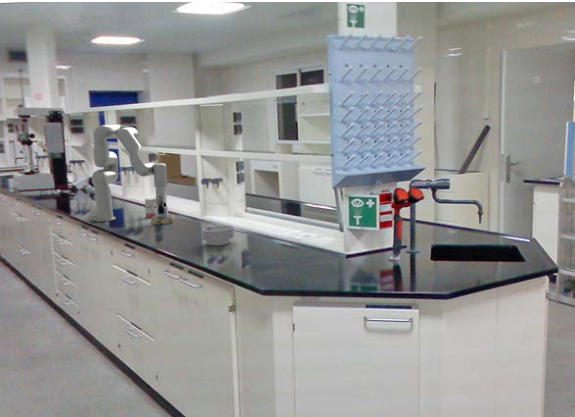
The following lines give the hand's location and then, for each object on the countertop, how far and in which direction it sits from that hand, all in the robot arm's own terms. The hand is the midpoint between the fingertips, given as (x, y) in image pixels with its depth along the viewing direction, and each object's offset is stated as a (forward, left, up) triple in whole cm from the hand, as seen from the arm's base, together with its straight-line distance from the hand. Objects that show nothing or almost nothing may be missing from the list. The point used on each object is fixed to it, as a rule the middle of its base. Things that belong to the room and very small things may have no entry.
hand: (162, 212), depth 336 cm
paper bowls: (+38, -67, -6) cm, 77 cm away
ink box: (-10, +21, -6) cm, 24 cm away
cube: (0, 0, -2) cm, 2 cm away
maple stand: (0, 0, -6) cm, 6 cm away
